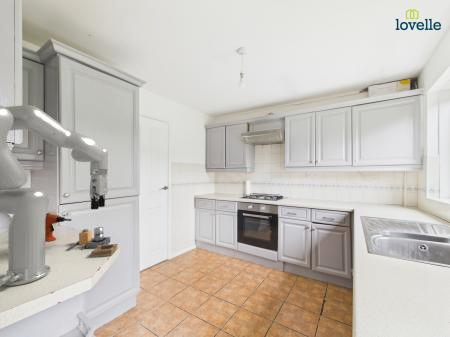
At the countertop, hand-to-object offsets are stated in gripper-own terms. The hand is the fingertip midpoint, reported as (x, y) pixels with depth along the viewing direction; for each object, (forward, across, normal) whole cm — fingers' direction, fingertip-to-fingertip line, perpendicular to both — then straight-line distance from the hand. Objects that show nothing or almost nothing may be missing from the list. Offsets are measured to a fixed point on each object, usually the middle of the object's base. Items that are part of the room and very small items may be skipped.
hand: (98, 207), depth 104 cm
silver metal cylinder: (+18, +1, 0) cm, 18 cm away
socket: (+19, +1, 0) cm, 19 cm away
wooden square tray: (+19, -10, -7) cm, 23 cm away
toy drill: (+19, +10, +24) cm, 32 cm away
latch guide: (+19, +2, +8) cm, 21 cm away
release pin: (+19, +5, +8) cm, 21 cm away
